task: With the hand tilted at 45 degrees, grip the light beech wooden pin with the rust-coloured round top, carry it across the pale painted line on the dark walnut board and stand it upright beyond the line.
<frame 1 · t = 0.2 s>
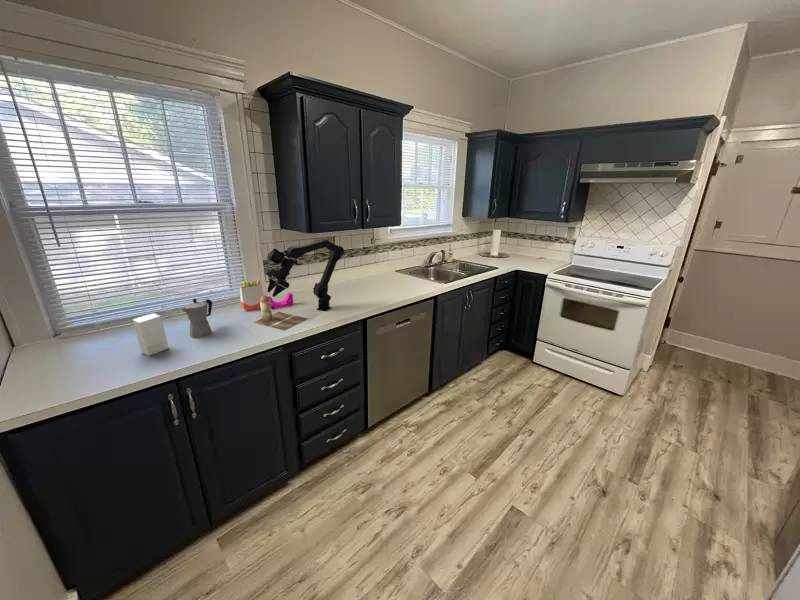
hand: (270, 294, 171), 14 cm above the worktop, tool tilted 35°, fingers open, 9 cm apart
french fries container: (253, 310, 189), on the worktop
wooden pin: (267, 320, 172), point 1 cm above the worktop, touching walnut board
walnut board: (281, 322, 172), on the worktop
skincare box: (155, 351, 140), on the worktop
coffeepot: (203, 333, 158), on the worktop
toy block: (281, 308, 194), on the worktop
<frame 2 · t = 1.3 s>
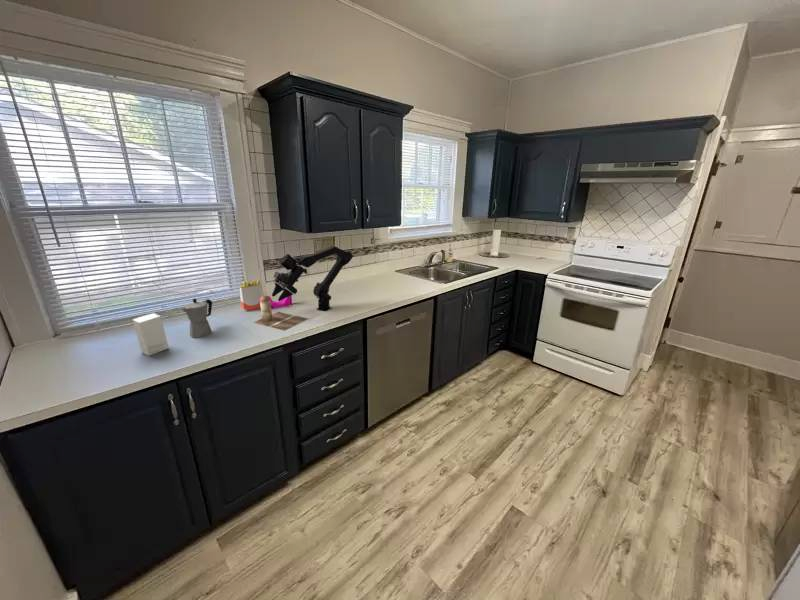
hand: (275, 298, 172), 12 cm above the worktop, tool tilted 45°, fingers open, 9 cm apart
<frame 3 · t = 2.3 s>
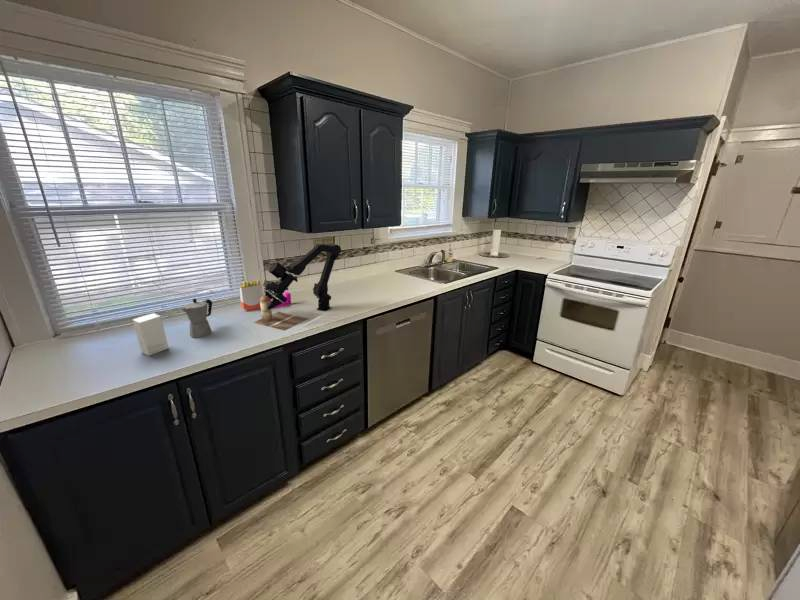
hand: (265, 306, 170), 8 cm above the worktop, tool tilted 45°, fingers open, 9 cm apart
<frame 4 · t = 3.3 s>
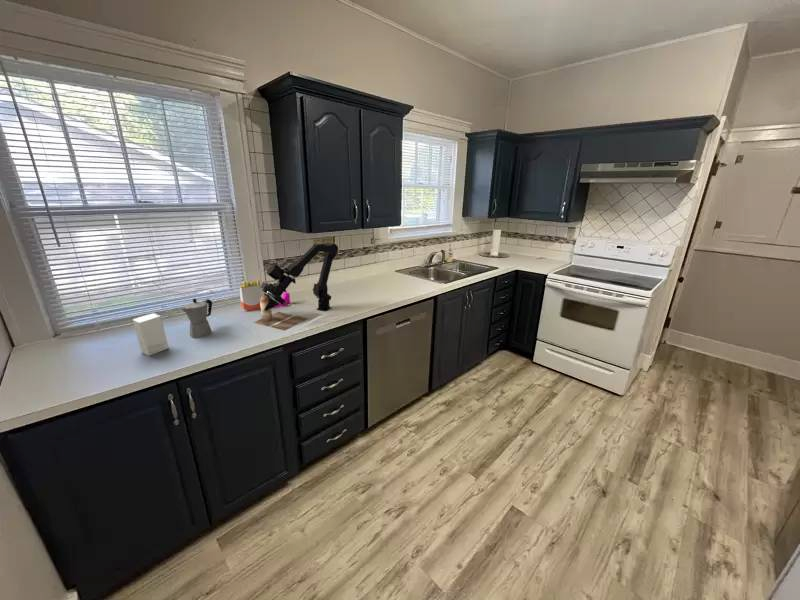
hand: (263, 308, 169), 8 cm above the worktop, tool tilted 45°, fingers closed on wooden pin, 5 cm apart
wooden pin: (267, 320, 172), point 1 cm above the worktop, touching gripper, walnut board
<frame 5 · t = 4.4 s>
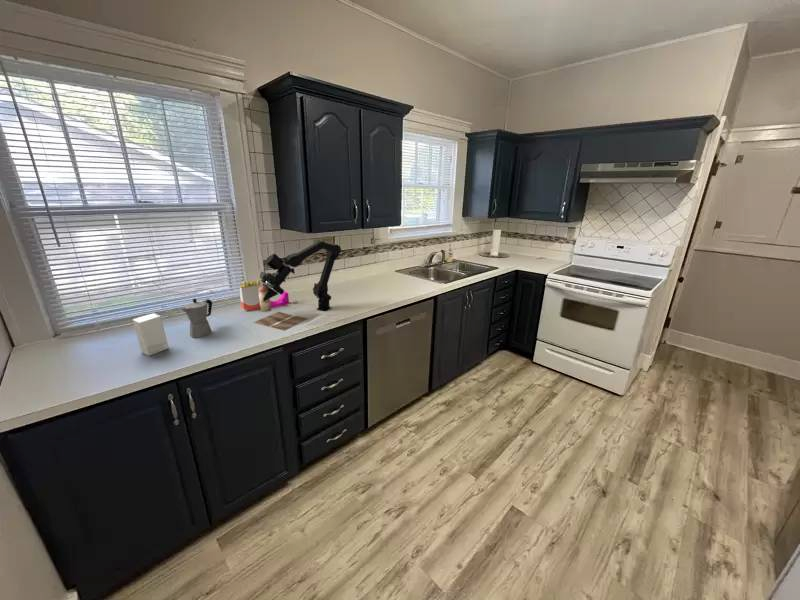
hand: (261, 299, 168), 13 cm above the worktop, tool tilted 45°, fingers closed on wooden pin, 5 cm apart
wooden pin: (266, 310, 171), point 6 cm above the worktop, touching gripper
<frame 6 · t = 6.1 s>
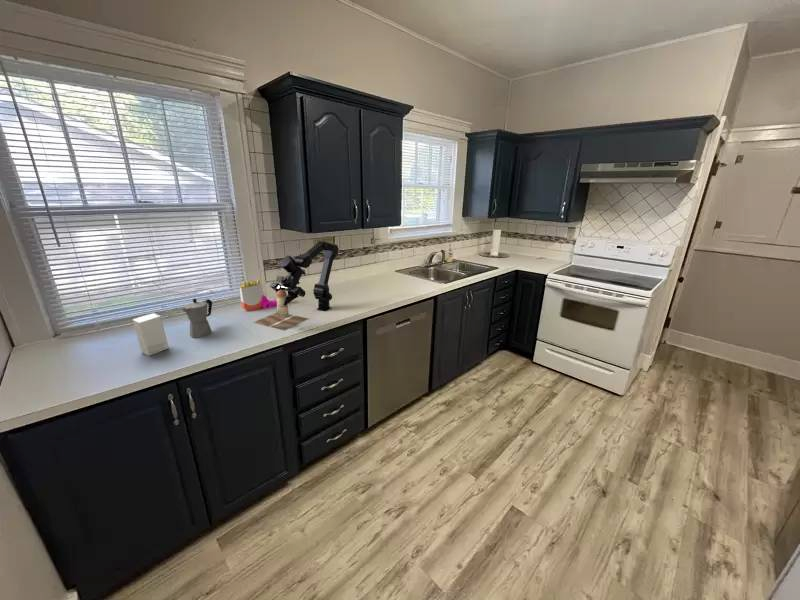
hand: (280, 304, 160), 13 cm above the worktop, tool tilted 45°, fingers closed on wooden pin, 5 cm apart
french fries container: (253, 310, 189), on the worktop, touching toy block
wooden pin: (283, 315, 163), point 7 cm above the worktop, touching gripper
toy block: (275, 306, 196), on the worktop, touching french fries container
everything else where it was.
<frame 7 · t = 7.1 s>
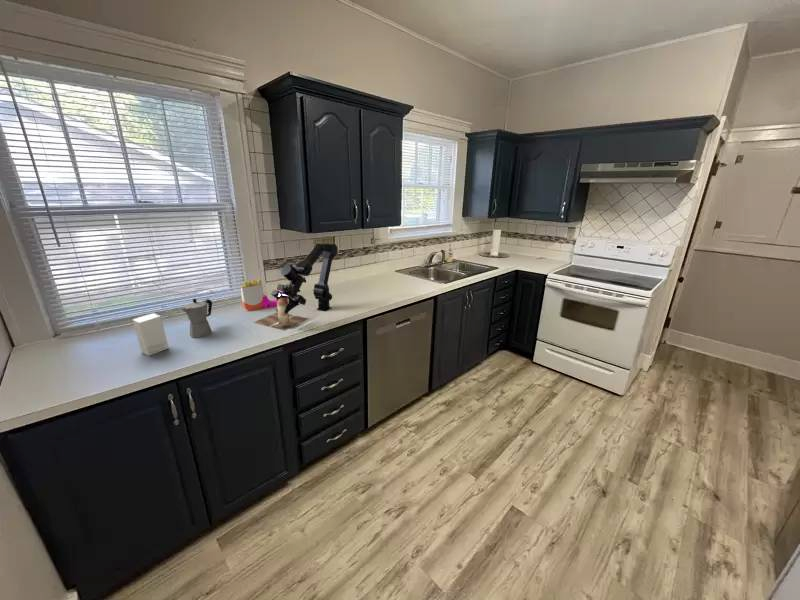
hand: (281, 312, 161), 9 cm above the worktop, tool tilted 45°, fingers closed on wooden pin, 5 cm apart
french fries container: (254, 310, 189), on the worktop, touching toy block
wooden pin: (284, 323, 165), point 2 cm above the worktop, touching gripper
when the fingers open (9 cm above the worktop, at t = 7.3 s): wooden pin drops 1 cm, resting on walnut board.
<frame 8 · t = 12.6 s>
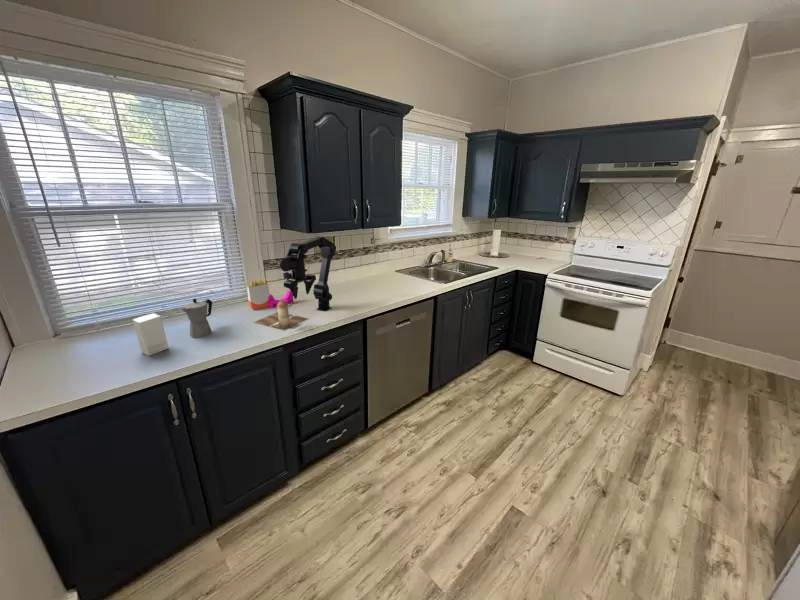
hand: (301, 296, 173), 13 cm above the worktop, tool pointing down, fingers open, 9 cm apart
french fries container: (260, 309, 191), on the worktop, touching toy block
wooden pin: (284, 326, 165), point 1 cm above the worktop, touching walnut board
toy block: (281, 305, 197), on the worktop, touching french fries container
everything else where it was.
at the end: wooden pin inside the target area (0.8 cm from its centre), point 1.0 cm above the worktop; wooden pin tilted 0°; the gripper is holding nothing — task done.
